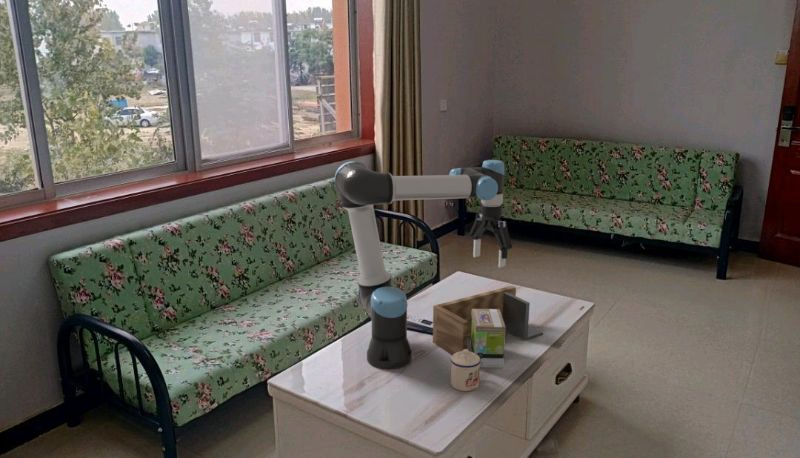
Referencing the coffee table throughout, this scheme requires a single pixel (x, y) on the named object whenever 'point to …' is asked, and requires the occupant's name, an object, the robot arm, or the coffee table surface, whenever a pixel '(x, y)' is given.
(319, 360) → the coffee table surface
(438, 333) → the shelf
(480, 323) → the tea box
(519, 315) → the bookend
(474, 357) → the teacup with lid
